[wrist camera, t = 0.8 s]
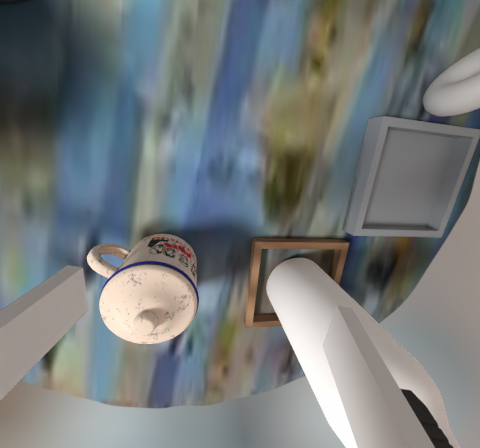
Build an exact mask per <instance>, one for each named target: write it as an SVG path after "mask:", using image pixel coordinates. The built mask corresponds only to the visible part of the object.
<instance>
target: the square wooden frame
mask: <svg viewBox="0 0 480 448" xmlns="http://www.w3.org/2000/svg"><path fill="white" fill-rule="evenodd" d="M348 247H349V242H347V241H345V240H344V239H302V238H253V241H252V250H251V259H250V269H249V278H248V287H247V296H246V305H245V315H244V324H245V327H246V328H255V327H271V326H282V324H281V322H280V320H279V318H278V316H277V314H267V315H254V309H255V300H256V292H257V284H258V276H259V268H260V260H261V252H262V249H335V251H334V255H333V260H332V264H331V268H330V273H329V277H330V278H331V279H333V280H334V281H335V282H336V283H337V284H338V285H339V284H340V280H341V275H342V271H343V267H344V263H345V259H346V255H347V251H348Z"/></svg>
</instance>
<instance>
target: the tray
mask: <svg viewBox="0 0 480 448" xmlns="http://www.w3.org/2000/svg"><path fill="white" fill-rule="evenodd" d="M479 138H480V130H479V129H472V128H465V127H458V126H451V125H444V124H437V123H430V122H423V121H416V120H408V119H401V118H394V117H387V116H381V117H376V118H371V119H368V123H367V127H366V131H365V135H364V140H363V144H362V148H361V153H360V157H359V161H358V165H357V170H356V174H355V178H354V182H353V187H352V191H351V195H350V200H349V204H348V208H347V212H346V217H345V221H344V225H343V229H342V230H344V231H346V232H348V233H349V234H351V235H353V236H393V237H442V235H443V233H444V230H445V227H446V225H447V222H448V220H449V217H450V214H451V212H452V209H453V206H454V204H455V201H456V198H457V196H458V193H459V190H460V188H461V185H462V183H463V180H464V177H465V175H466V172H467V169H468V167H469V164H470V161H471V159H472V156H473V153H474V151H475V148H476V146H477V143H478V140H479Z"/></svg>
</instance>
